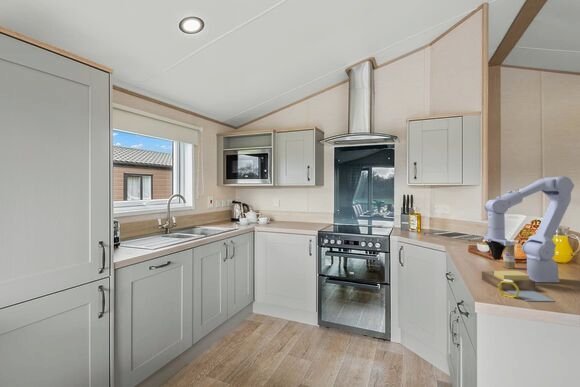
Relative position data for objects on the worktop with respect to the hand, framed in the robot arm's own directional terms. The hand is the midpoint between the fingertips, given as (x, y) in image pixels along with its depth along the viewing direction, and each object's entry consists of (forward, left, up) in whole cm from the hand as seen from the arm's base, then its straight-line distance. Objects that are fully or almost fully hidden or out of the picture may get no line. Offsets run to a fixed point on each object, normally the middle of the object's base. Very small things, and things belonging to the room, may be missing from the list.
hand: (496, 259), depth 119 cm
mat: (0, +18, -9) cm, 20 cm away
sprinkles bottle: (-17, -19, -9) cm, 26 cm away
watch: (+7, +18, -9) cm, 22 cm away
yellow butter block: (0, +8, -5) cm, 10 cm away
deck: (0, +6, -9) cm, 11 cm away
